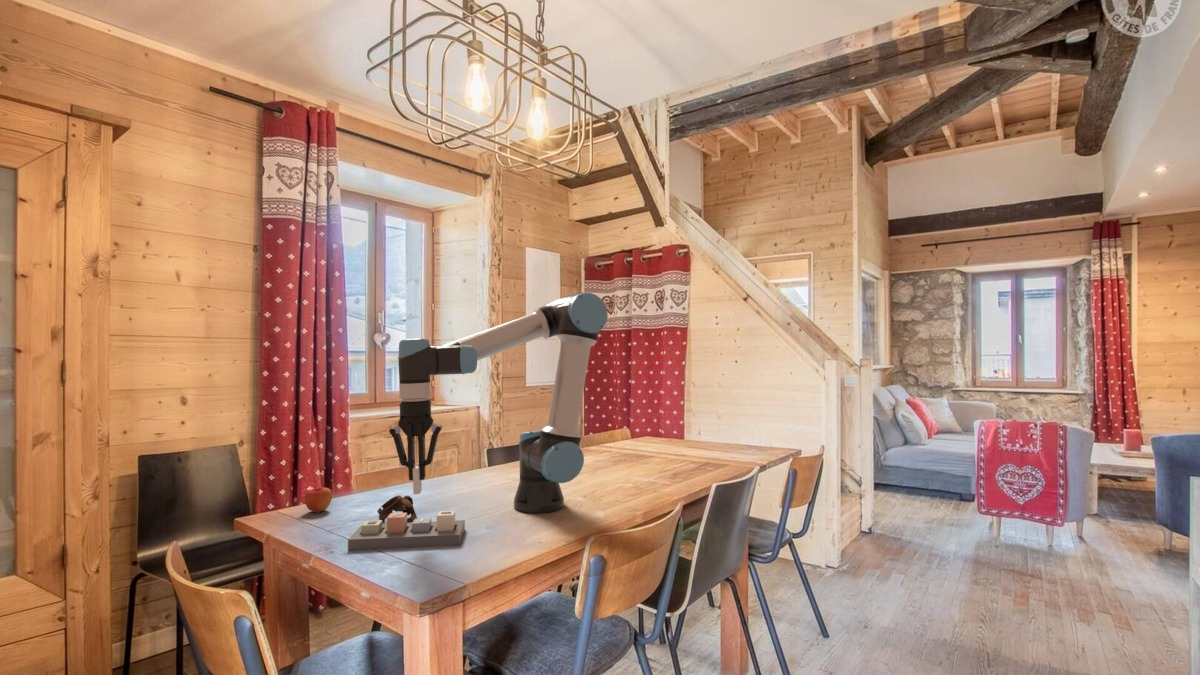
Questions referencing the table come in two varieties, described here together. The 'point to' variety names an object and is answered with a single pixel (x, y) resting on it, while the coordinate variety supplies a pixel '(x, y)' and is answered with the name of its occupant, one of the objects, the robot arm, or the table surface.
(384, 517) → the dark brown curved piece
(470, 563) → the table surface
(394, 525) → the terracotta key
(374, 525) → the sage key
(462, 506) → the table surface
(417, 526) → the slate key
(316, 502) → the apple
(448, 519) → the cream key
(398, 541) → the keypad board
